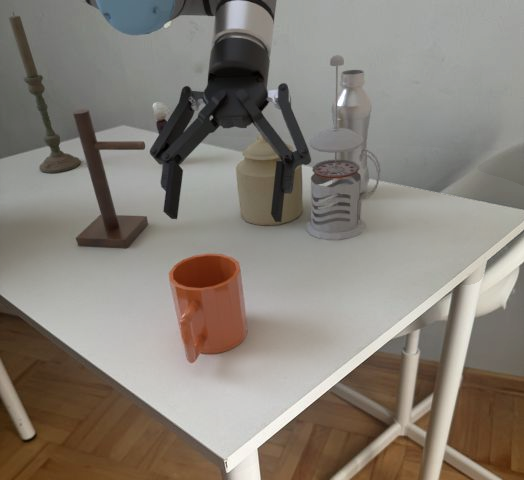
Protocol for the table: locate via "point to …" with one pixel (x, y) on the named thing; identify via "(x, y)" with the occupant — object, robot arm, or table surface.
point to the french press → (337, 182)
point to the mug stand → (105, 191)
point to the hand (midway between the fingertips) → (221, 217)
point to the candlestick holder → (41, 104)
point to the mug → (209, 303)
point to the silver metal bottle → (353, 120)
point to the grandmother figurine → (160, 115)
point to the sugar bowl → (265, 185)
